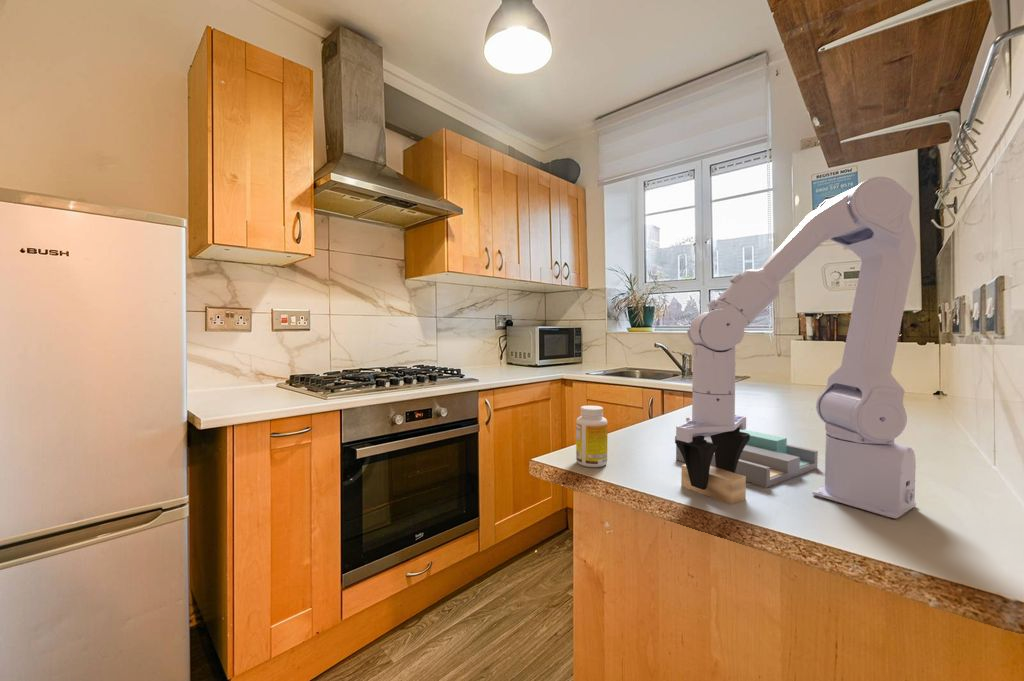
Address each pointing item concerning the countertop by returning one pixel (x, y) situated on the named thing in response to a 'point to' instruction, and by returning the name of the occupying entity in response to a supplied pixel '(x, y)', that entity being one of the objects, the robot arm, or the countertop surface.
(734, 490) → the oak stick
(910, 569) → the countertop surface
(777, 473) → the rack
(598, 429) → the supplement bottle
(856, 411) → the robot arm
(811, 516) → the countertop surface
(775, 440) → the teal stick
